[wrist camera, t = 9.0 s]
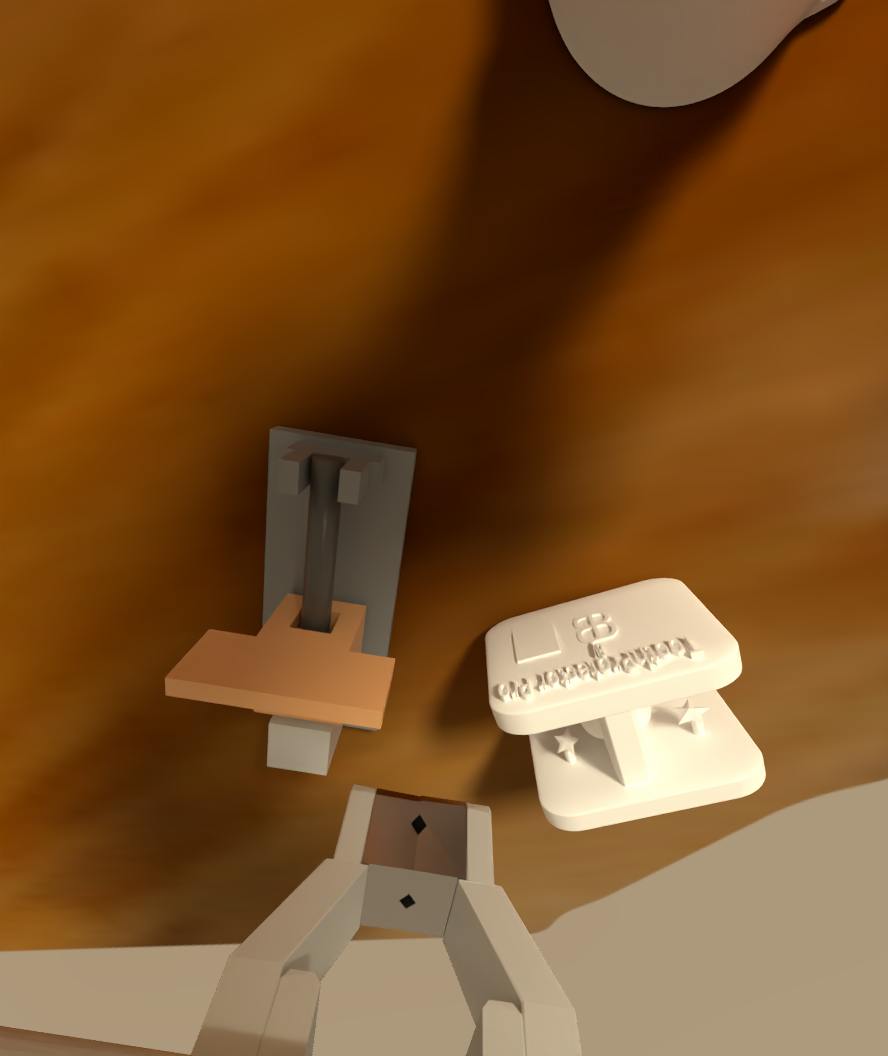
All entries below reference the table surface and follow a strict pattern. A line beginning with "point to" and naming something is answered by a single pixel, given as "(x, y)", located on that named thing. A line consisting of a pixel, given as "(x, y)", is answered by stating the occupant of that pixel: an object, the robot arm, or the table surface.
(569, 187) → the table surface
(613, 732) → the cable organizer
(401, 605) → the table surface
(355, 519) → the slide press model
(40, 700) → the table surface
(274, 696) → the orange piece
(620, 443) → the table surface
